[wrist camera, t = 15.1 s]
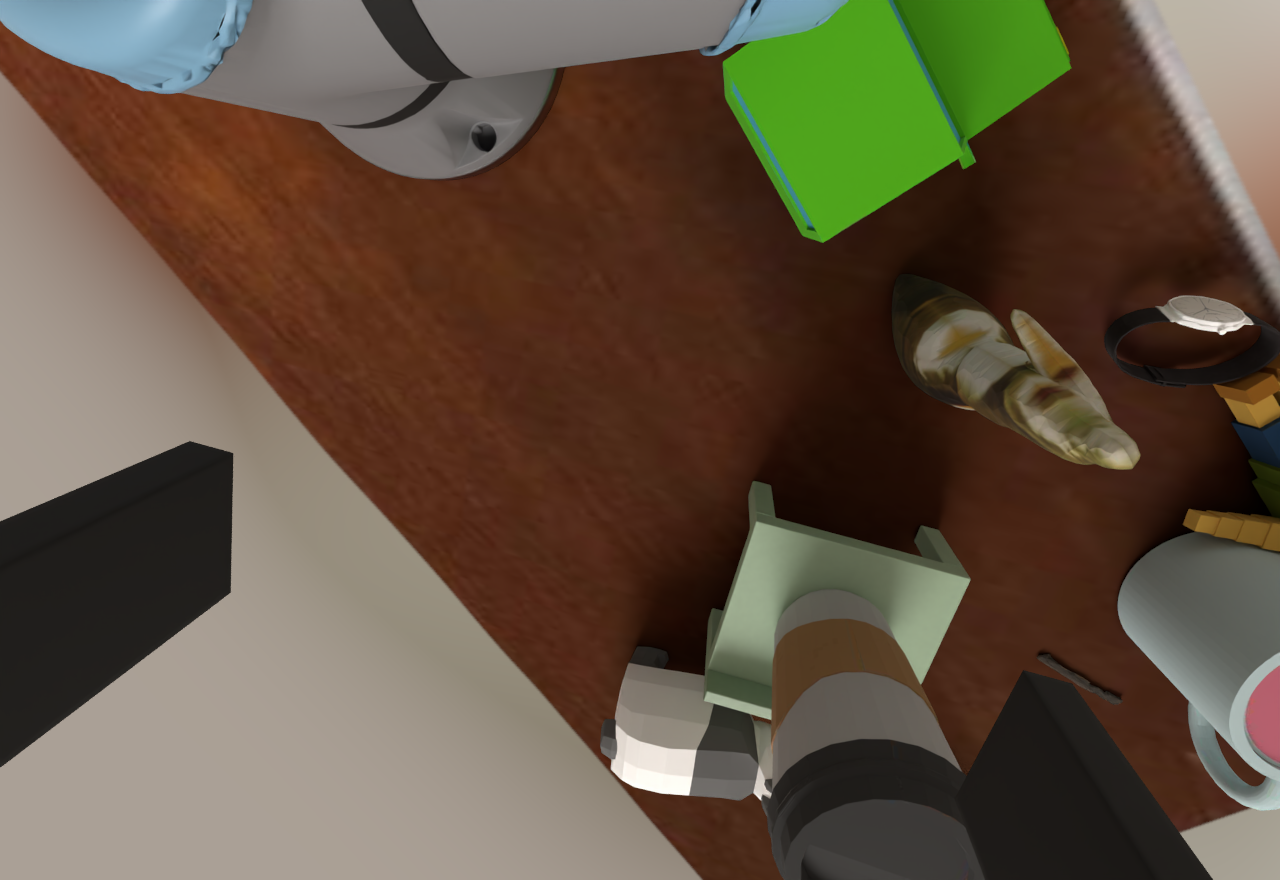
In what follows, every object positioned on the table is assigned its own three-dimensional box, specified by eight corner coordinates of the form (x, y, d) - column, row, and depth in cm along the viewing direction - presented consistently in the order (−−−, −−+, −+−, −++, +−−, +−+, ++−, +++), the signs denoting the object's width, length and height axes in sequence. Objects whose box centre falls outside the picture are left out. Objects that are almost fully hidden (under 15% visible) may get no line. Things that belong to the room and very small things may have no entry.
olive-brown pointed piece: (939, 248, 37) (1157, 288, 18) (1001, 366, 38) (1261, 515, 20) (857, 298, 38) (978, 382, 19) (920, 409, 40) (1089, 588, 21)
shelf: (753, 479, 42) (757, 537, 35) (939, 529, 42) (984, 599, 34) (707, 621, 46) (702, 701, 39) (878, 669, 46) (906, 759, 38)
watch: (1268, 297, 35) (1321, 310, 32) (1237, 382, 37) (1285, 404, 33) (1108, 292, 36) (1143, 304, 33) (1086, 376, 38) (1117, 395, 35)
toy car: (1045, 104, 34) (1164, 63, 25) (809, 251, 38) (834, 264, 28) (955, -93, 32) (1048, -220, 22) (715, 83, 36) (708, 37, 26)
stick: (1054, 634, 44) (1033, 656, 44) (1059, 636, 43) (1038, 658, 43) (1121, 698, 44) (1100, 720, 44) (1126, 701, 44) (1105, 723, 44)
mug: (1136, 526, 40) (1260, 622, 31) (1309, 534, 39) (1493, 637, 29) (1088, 712, 44) (1183, 847, 35) (1242, 725, 43) (1383, 867, 34)
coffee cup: (869, 711, 40) (944, 985, 26) (736, 665, 40) (737, 912, 26) (931, 597, 37) (1053, 836, 23) (787, 549, 37) (820, 755, 23)
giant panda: (613, 699, 49) (586, 807, 40) (620, 636, 48) (594, 735, 39) (813, 734, 48) (832, 854, 39) (828, 670, 46) (851, 781, 37)
